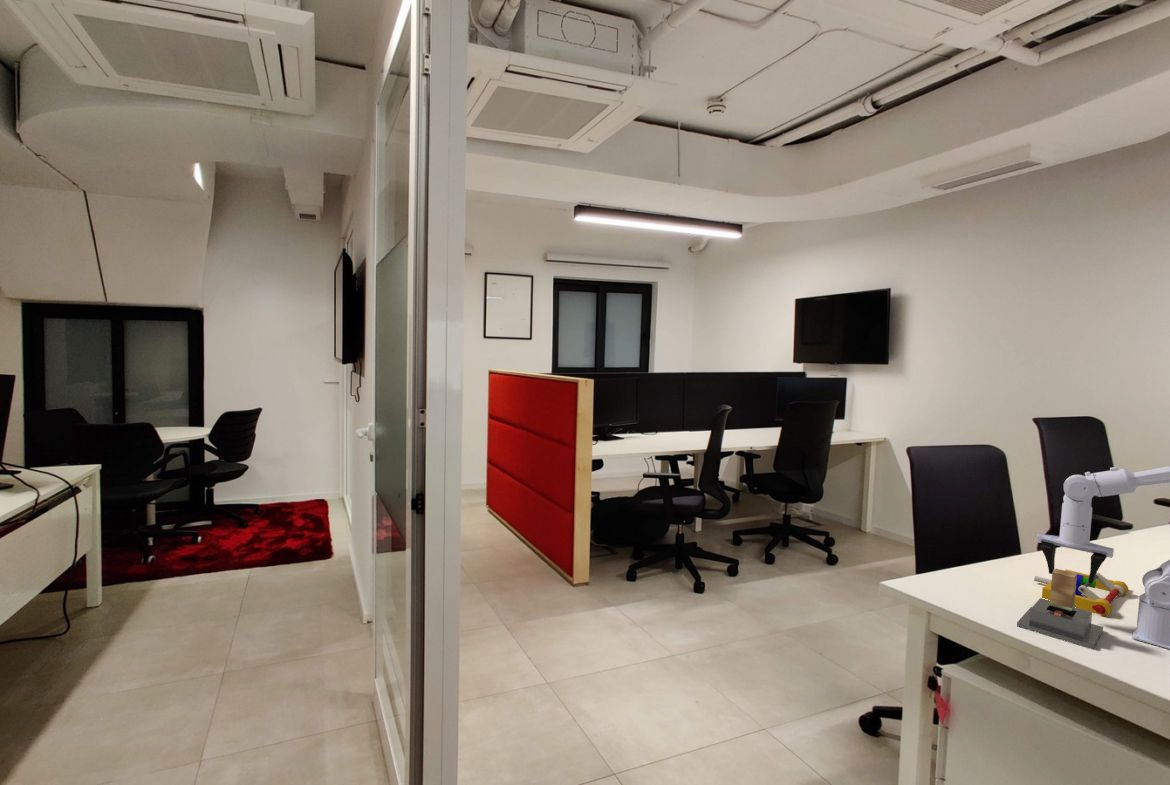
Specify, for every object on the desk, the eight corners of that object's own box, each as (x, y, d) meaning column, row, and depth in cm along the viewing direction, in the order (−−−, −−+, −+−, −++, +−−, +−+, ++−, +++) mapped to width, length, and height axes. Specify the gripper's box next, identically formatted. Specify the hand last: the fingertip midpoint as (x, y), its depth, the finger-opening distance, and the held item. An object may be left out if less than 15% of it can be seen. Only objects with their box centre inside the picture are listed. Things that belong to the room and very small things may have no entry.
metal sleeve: (1102, 631, 139) (1104, 610, 139) (1093, 649, 130) (1095, 627, 130) (1030, 610, 150) (1032, 591, 150) (1016, 626, 141) (1018, 605, 140)
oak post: (1074, 606, 139) (1077, 573, 139) (1071, 611, 137) (1074, 577, 136) (1052, 600, 143) (1055, 568, 142) (1048, 604, 140) (1051, 572, 139)
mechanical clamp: (1132, 571, 165) (1110, 596, 146) (1130, 592, 166) (1108, 620, 147) (1051, 552, 179) (1022, 573, 161) (1050, 572, 180) (1020, 595, 161)
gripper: (1117, 528, 142) (1112, 582, 143) (1042, 514, 152) (1038, 565, 153) (1113, 533, 137) (1107, 589, 138) (1036, 519, 148) (1031, 571, 149)
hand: (1070, 577), depth 145 cm, fingers open, 7 cm apart
